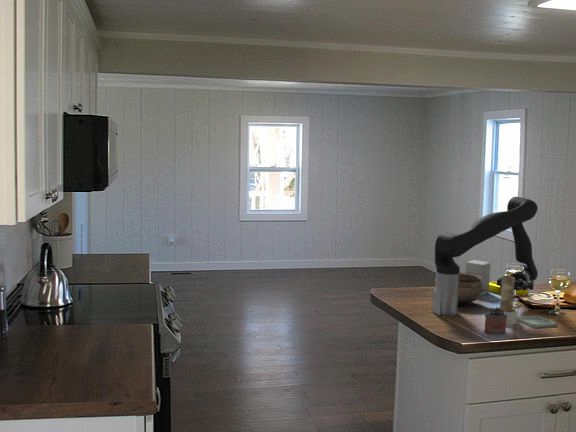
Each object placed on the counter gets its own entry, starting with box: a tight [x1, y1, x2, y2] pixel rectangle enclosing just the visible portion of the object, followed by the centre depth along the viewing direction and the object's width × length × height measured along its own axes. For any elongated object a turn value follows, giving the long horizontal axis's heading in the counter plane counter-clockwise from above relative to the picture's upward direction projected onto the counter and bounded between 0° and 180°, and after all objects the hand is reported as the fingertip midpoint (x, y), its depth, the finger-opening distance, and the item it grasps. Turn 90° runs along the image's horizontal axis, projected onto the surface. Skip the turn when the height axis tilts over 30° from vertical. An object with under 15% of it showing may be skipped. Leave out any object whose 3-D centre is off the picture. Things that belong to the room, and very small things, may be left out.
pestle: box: [499, 275, 515, 312], centre depth 252 cm, size 5×5×18 cm
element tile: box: [489, 280, 530, 296], centre depth 308 cm, size 15×15×5 cm
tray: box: [517, 315, 558, 329], centre depth 253 cm, size 11×11×2 cm
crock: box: [498, 306, 519, 326], centre depth 253 cm, size 8×8×6 cm
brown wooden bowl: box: [433, 272, 488, 306], centre depth 283 cm, size 25×19×12 cm
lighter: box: [483, 306, 507, 335], centre depth 238 cm, size 8×3×10 cm, turn 92°
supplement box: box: [464, 259, 491, 297], centre depth 303 cm, size 9×9×15 cm
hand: (512, 287), depth 262 cm, fingers open, 8 cm apart
